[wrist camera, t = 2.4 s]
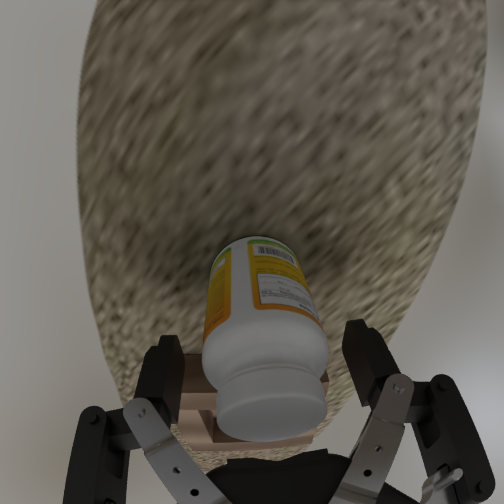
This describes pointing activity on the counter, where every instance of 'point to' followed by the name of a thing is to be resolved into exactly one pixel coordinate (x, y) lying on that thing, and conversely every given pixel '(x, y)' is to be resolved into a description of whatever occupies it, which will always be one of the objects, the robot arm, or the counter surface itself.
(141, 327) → the counter surface
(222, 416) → the supplement bottle
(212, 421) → the socket block
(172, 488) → the robot arm
